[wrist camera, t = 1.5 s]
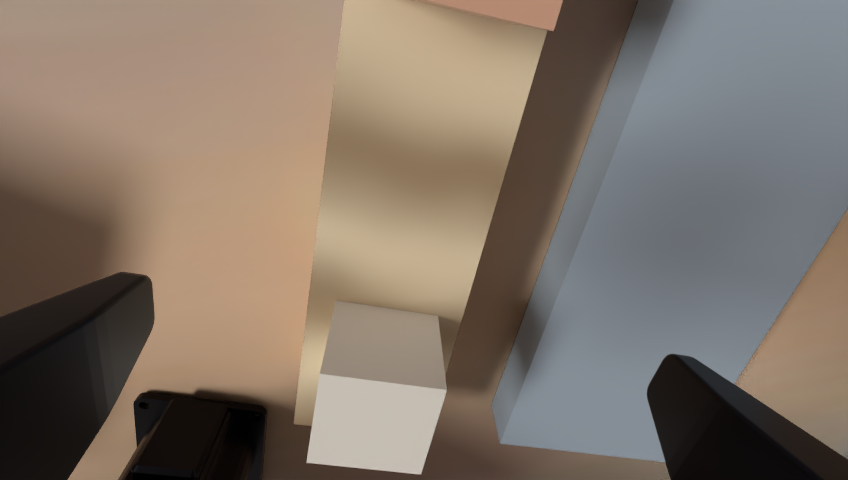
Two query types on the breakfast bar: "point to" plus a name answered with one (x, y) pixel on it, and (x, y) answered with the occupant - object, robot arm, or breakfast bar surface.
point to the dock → (683, 215)
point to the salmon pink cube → (508, 10)
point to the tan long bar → (412, 164)
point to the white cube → (378, 389)
